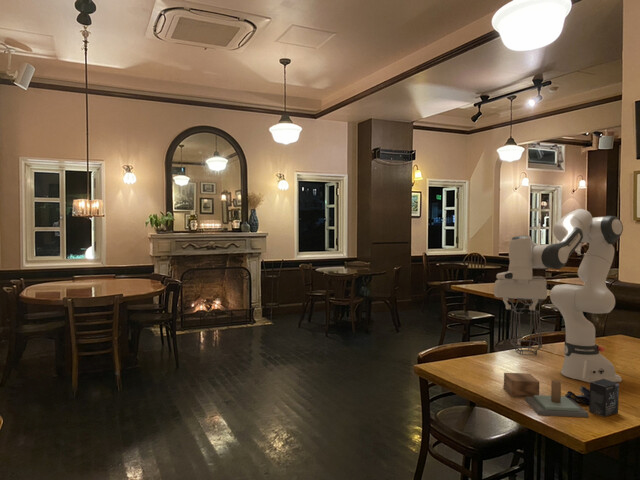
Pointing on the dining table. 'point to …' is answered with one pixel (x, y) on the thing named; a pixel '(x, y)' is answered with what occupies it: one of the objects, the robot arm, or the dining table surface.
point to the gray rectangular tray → (542, 411)
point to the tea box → (521, 384)
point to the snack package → (580, 398)
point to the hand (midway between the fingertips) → (520, 309)
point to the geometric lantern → (530, 327)
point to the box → (604, 397)
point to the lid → (556, 399)
